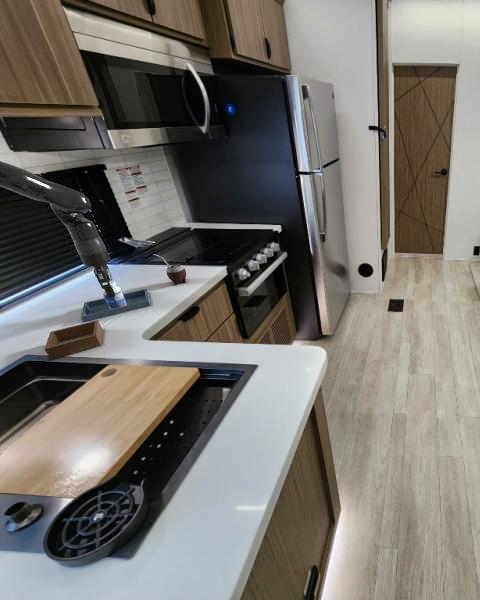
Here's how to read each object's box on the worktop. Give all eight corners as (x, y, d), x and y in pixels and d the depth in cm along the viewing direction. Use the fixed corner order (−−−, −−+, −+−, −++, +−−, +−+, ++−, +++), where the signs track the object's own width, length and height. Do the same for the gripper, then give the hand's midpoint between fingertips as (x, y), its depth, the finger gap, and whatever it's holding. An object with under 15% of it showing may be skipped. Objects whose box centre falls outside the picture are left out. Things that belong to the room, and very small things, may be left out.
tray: (84, 323, 116) (80, 317, 115) (87, 308, 126) (84, 302, 124) (151, 306, 126) (148, 300, 125) (148, 294, 136) (146, 288, 135)
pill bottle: (105, 308, 124) (94, 285, 119) (119, 302, 128) (109, 279, 124) (117, 310, 123) (106, 286, 118) (130, 303, 127) (120, 280, 123)
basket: (51, 361, 97) (44, 349, 95) (57, 343, 105) (50, 331, 103) (102, 347, 103) (95, 335, 101) (103, 331, 111) (97, 319, 109)
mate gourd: (192, 280, 148) (182, 248, 141) (180, 288, 141) (168, 254, 134) (177, 279, 149) (166, 247, 142) (164, 287, 142) (152, 254, 135)
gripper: (80, 247, 118) (100, 289, 126) (76, 258, 108) (98, 304, 116) (106, 243, 122) (124, 284, 130) (105, 253, 112) (125, 298, 120)
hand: (112, 293), depth 123 cm, fingers closed on pill bottle, 5 cm apart
